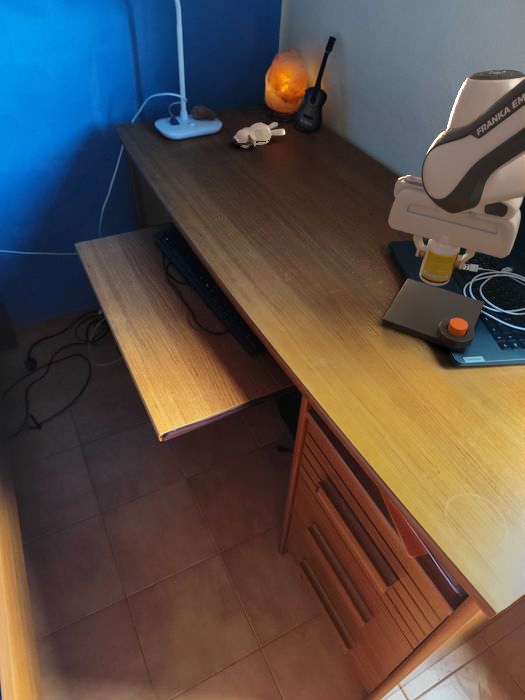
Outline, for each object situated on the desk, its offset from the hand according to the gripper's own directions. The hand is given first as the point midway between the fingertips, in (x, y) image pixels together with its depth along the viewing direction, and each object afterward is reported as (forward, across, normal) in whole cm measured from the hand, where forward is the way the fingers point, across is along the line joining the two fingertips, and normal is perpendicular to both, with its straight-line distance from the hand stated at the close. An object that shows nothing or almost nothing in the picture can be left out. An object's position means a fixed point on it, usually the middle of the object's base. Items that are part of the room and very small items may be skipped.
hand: (439, 261), depth 82 cm
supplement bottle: (+4, 0, 0) cm, 4 cm away
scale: (+11, +2, -2) cm, 11 cm away
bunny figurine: (+11, -68, +50) cm, 85 cm away
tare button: (+8, +7, -7) cm, 13 cm away
